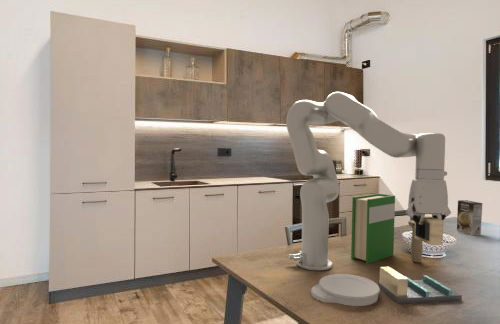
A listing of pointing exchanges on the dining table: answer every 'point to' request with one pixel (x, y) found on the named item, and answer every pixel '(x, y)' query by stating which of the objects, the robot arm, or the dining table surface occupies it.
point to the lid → (346, 290)
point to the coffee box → (469, 217)
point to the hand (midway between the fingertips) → (427, 236)
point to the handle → (415, 245)
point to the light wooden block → (432, 231)
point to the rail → (414, 288)
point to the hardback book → (373, 227)
